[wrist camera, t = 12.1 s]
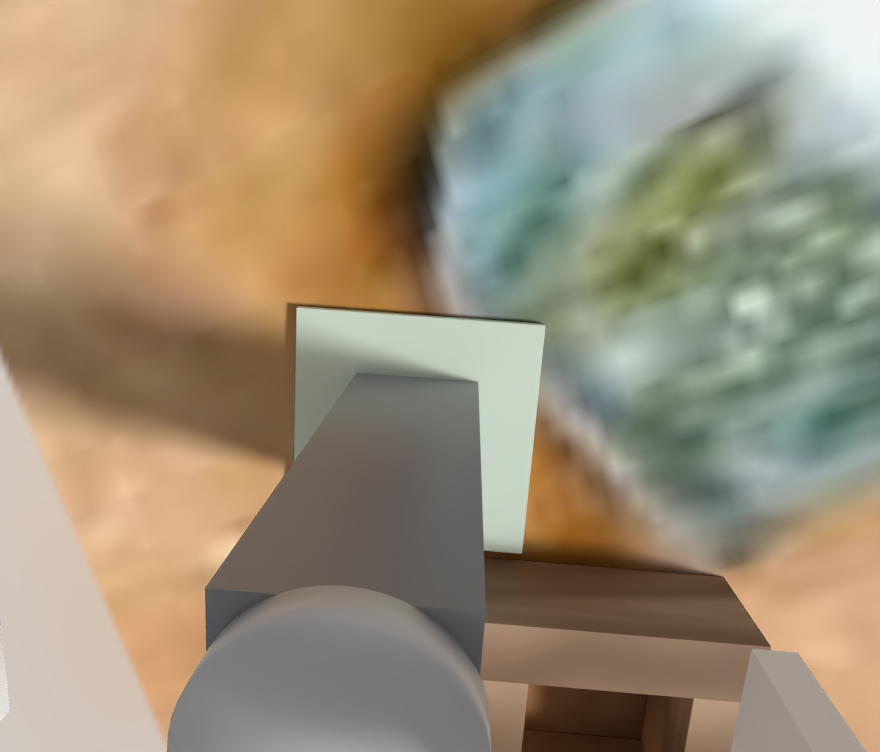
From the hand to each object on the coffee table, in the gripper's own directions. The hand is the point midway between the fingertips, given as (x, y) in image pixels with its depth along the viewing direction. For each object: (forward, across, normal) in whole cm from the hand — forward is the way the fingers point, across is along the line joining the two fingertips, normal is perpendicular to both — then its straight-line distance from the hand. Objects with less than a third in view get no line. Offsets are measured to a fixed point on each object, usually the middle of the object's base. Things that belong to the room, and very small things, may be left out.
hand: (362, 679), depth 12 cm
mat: (+15, 0, -1) cm, 15 cm away
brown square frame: (+15, +7, -11) cm, 19 cm away
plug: (+14, 0, -1) cm, 14 cm away
